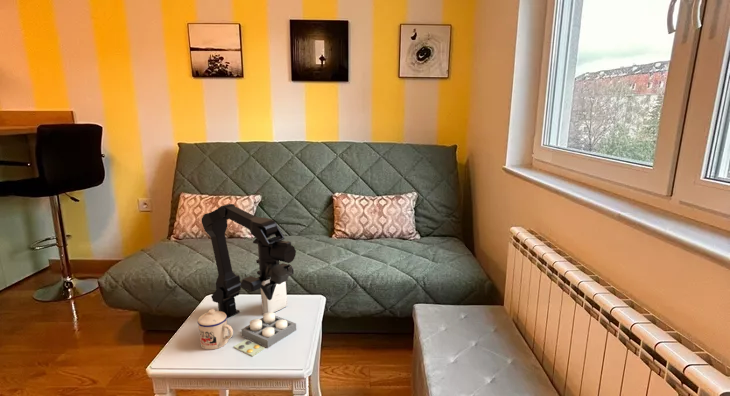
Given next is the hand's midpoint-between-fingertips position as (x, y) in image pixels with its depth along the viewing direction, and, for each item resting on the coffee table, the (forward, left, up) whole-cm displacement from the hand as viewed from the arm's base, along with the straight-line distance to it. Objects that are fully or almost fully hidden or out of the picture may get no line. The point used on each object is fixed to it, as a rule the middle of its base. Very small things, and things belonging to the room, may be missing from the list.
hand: (269, 299), depth 140 cm
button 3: (-1, +1, -9) cm, 9 cm away
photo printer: (-9, +11, -11) cm, 18 cm away
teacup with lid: (-8, -16, -11) cm, 21 cm away
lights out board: (+2, -5, -11) cm, 12 cm away
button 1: (-1, -5, -9) cm, 11 cm away
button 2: (+5, -5, -10) cm, 12 cm away
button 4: (+5, 0, -10) cm, 11 cm away
